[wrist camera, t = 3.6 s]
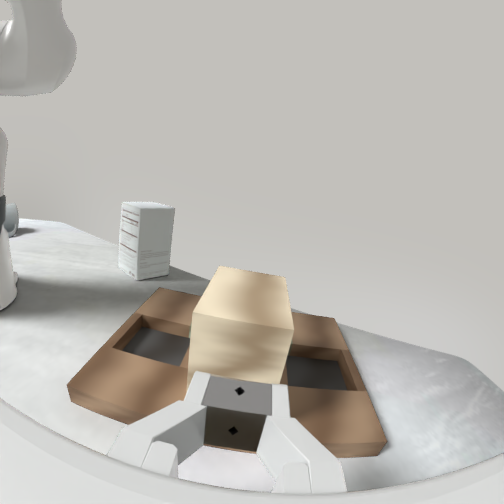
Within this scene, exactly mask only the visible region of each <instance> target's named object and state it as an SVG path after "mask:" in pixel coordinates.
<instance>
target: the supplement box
mask: <svg viewBox="0 0 504 504" xmlns="http://www.w3.org/2000/svg"><path fill="white" fill-rule="evenodd" d="M174 214H175V208H173V207H171V206H167V205H163V204H159V203H155V202H122V209H121V221H120V239H119V260H118V267H119V269H121V270H122V271H123V272H125V273H126V274H128V275H129V276H130V277H132V278H133V279H135V280H137V281H138V280H143V279H148V278H154V277H159V276H164V275H169V264H170V252H171V241H172V232H173V222H174Z"/></svg>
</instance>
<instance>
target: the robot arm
mask: <svg viewBox="0 0 504 504" xmlns="http://www.w3.org/2000/svg"><path fill="white" fill-rule="evenodd" d="M5 1H7V2H8V3H9V5H10V7H11V9H12V14H13V19H12V20H10V21H0V95H5V96H7V95H8V96H30V95H37V94H44V93H51V92H53V91H54V90H55V89H56V88H58V87H59V86H60V85H61V84H62V83H63V82H64V80H65V79H66V78H67V77H68V75H69V73H70V72H71V70H72V67H73V65H74V62H75V59H76V41H75V39H74V36H73V34H72V32H71V31H70V30H69V29H68V27H67V25H66V23H65V21H64V18H63V14H62V8H61V0H5ZM7 149H8V142H7V138H6V135H5V133H4V131H3V130H2V129H1V128H0V310H2V309H3V308H5V307H7V306H8V305H9V304H10V303H11V302H12V301H13V300H14V299H15V297H16V295H17V288H16V285H15V284H16V282H17V280H18V277H17V273H16V272H14V271H13V266H12V260H11V253H10V245H9V237H8V232H7V231H6V229H5V228H4V226H3V223H4V221H5V220H6V197H5V195H3V190H4V176H5V165H6V156H7ZM203 444H208V445H214V446H220V447H227V448H234V449H240V450H246V451H253V452H256V453H257V455H258V457H259V458H260V460H261V461H262V463H263V464H264V466H265V467H266V469H267V470H268V472H269V473H270V475H271V476H272V478H273V479H274V481H275V482H276V483H275V485H274V487H273V489H272V491H271V493H269V492H257V491H247V490H238V489H231V488H224V487H218V486H212V485H207V484H201V483H196V482H192V481H187V480H183V479H179V478H178V465H179V464H180V463H182V462H183V461H184V460H186V459H187V458H188V457H189V456H191V455H192V454H193V453H194V452H196V451H197V450H198V449H199V448H200V447H202V446H203ZM0 504H504V453H502V454H500V455H497V456H495V457H493V458H490V459H488V460H485V461H483V462H480V463H477V464H475V465H472V466H469V467H466V468H463V469H460V470H457V471H454V472H451V473H447V474H444V475H441V476H437V477H433V478H429V479H425V480H421V481H417V482H412V483H407V484H402V485H397V486H391V487H385V488H378V489H371V490H363V491H353V492H347V488H346V483H345V478H344V473H343V469H342V464H341V461H339V460H338V459H337V458H336V457H335V456H334V455H333V454H332V453H331V452H330V451H329V450H327V449H326V448H325V447H324V446H323V445H322V444H321V443H320V442H319V441H318V440H317V439H316V438H315V437H314V436H313V435H312V434H311V433H310V432H309V431H308V430H306V429H305V428H304V427H303V426H302V425H301V424H300V423H299V422H298V421H297V420H296V419H295V418H291V417H290V405H289V394H288V386H287V385H284V384H273V383H272V384H269V383H261V382H253V381H246V380H241V379H235V378H230V377H225V376H220V375H215V374H210V373H205V372H200V371H196V372H195V373H194V375H193V378H192V380H191V383H190V385H189V388H188V391H187V393H186V396H185V398H184V401H181V400H178V401H176V402H175V403H173V404H171V405H169V406H167V407H165V408H163V409H161V410H159V411H157V412H155V413H153V414H151V415H149V416H147V417H145V418H143V419H140V420H138V421H136V422H134V423H132V424H130V425H128V426H125V427H123V428H122V429H121V431H120V433H119V434H118V436H117V438H116V440H115V441H114V443H113V445H112V447H111V448H110V450H109V452H108V454H107V456H106V455H104V454H101V453H99V452H97V451H94V450H92V449H90V448H87V447H85V446H83V445H81V444H79V443H76V442H74V441H72V440H70V439H68V438H66V437H64V436H62V435H60V434H58V433H56V432H55V431H53V430H51V429H49V428H47V427H45V426H44V425H42V424H40V423H38V422H37V421H35V420H33V419H32V418H30V417H28V416H27V415H25V414H24V413H22V412H20V411H19V410H17V409H16V408H14V407H13V406H11V405H10V404H8V403H7V402H5V401H4V400H3V399H1V398H0Z"/></svg>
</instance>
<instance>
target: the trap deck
mask: <svg viewBox="0 0 504 504" xmlns="http://www.w3.org/2000/svg"><path fill="white" fill-rule="evenodd" d="M201 297H202V296H198V295H193V294H188V293H183V292H178V291H174V290H169V289H164V288H160V287H159V288H158V289H157V290H156V291H155V292H154V293H153V294H152V295H151V296H150V297H149V298H148V299H147V300H146V301H145V302H144V303H143V304H142V306H141V307H140V308H139V309H138V310H137V311H136V312H135V313H134V314H133V315H132V316H131V317H130V318H129V319H128V320H127V321H126V322H125V323H124V324H123V325H122V326H121V327H120V328H119V329H118V330H117V331H116V332H115V333H114V334H113V335H112V336H111V337H110V339H109V340H108V341H107V342H106V343H105V344H104V345H103V346H102V347H101V348H100V349H99V350H98V351H97V352H96V353H95V354H94V356H93V357H92V358H91V359H90V360H89V361H88V362H87V363H86V364H85V365H84V366H83V367H82V369H81V370H80V371H79V372H78V373H77V374H76V375H75V376H74V377H73V378H72V379H71V381H70V382H69V383H68V384H67V388H68V392H69V395H70V399H71V402H73V403H75V404H78V405H80V406H82V407H84V408H87V409H89V410H91V411H94V412H96V413H99V414H101V415H104V416H106V417H109V418H112V419H114V420H117V421H120V422H123V423H125V424H128V425H130V424H132V423H134V422H136V421H138V420H140V419H143V418H145V417H147V416H149V415H151V414H153V413H155V412H157V411H159V410H161V409H163V408H165V407H167V406H169V405H171V404H173V403H175V402H176V401H178V400H181V401H184V398H185V396H186V393H187V376H188V362H189V348H190V336H191V325H192V314H193V311H194V309H195V307H196V305H197V304H198V302H199V300H200V298H201ZM291 314H292V319H293V325H294V333H293V337H292V340H291V344H290V348H289V352H288V355H287V359H286V362H285V366H284V370H283V373H282V377H281V380H280V384H284V385H287V386H288V394H289V405H290V417H291V418H295V419H296V420H297V421H298V422H299V423H300V424H301V425H302V426H303V427H304V428H305V429H306V430H308V431H309V432H310V433H311V434H312V435H313V436H314V437H315V438H316V439H317V440H318V441H319V442H320V443H321V444H322V445H323V446H324V447H325V448H326V449H327V450H329V451H330V452H331V453H332V454H333V455H334V456H335V457H336V458H349V457H368V456H377V455H378V454H379V452H380V451H381V450H382V448H383V447H384V445H385V444H386V443H387V440H386V437H385V435H384V432H383V430H382V427H381V425H380V422H379V420H378V417H377V415H376V412H375V410H374V407H373V405H372V403H371V400H370V398H369V395H368V393H367V391H366V388H365V386H364V384H363V381H362V379H361V377H360V374H359V372H358V370H357V367H356V365H355V363H354V361H353V358H352V356H351V354H350V352H349V349H348V347H347V345H346V343H345V340H344V338H343V336H342V334H341V332H340V329H339V327H338V325H337V323H336V321H335V319H334V318H329V317H322V316H315V315H308V314H301V313H295V312H291ZM203 445H206V446H211V447H216V448H222V449H227V450H234V451H240V452H247V453H255V454H257V453H256V452H253V451H246V450H240V449H234V448H227V447H220V446H214V445H208V444H203Z"/></svg>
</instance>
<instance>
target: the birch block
mask: <svg viewBox="0 0 504 504" xmlns="http://www.w3.org/2000/svg"><path fill="white" fill-rule="evenodd" d="M293 333H294V325H293V319H292V314H291V308H290V302H289V296H288V291H287V285H286V279H285V277H281V276H275V275H269V274H263V273H257V272H252V271H246V270H240V269H235V268H229V267H224V266H219V267H218V269H217V271H216V273H215V274H214V276H213V278H212V279H211V281H210V283H209V285H208V286H207V288H206V290H205V292H204V293H203V295H202V297H201V298H200V300H199V302H198V304H197V305H196V307H195V309H194V311H193V314H192V325H191V336H190V348H189V362H188V376H187V391H188V388H189V385H190V383H191V380H192V378H193V375H194V373H195V372H196V371H200V372H205V373H210V374H215V375H220V376H225V377H230V378H235V379H241V380H246V381H253V382H261V383H269V384H272V383H273V384H280V380H281V377H282V373H283V370H284V366H285V362H286V359H287V355H288V352H289V348H290V344H291V340H292V337H293Z"/></svg>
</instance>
